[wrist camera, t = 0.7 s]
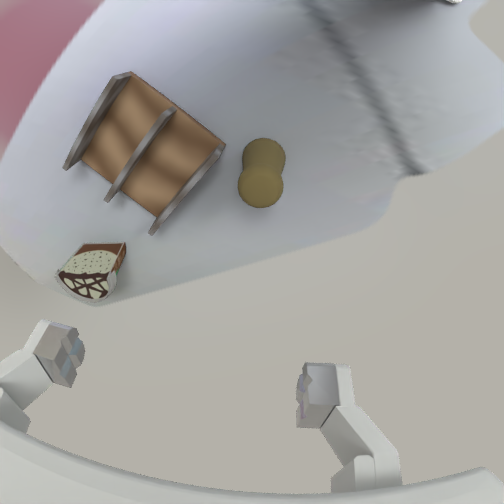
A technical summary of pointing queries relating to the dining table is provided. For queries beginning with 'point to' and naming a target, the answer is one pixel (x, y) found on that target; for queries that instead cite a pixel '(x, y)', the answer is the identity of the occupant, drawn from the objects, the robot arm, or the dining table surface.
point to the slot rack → (144, 146)
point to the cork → (262, 173)
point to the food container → (92, 271)
